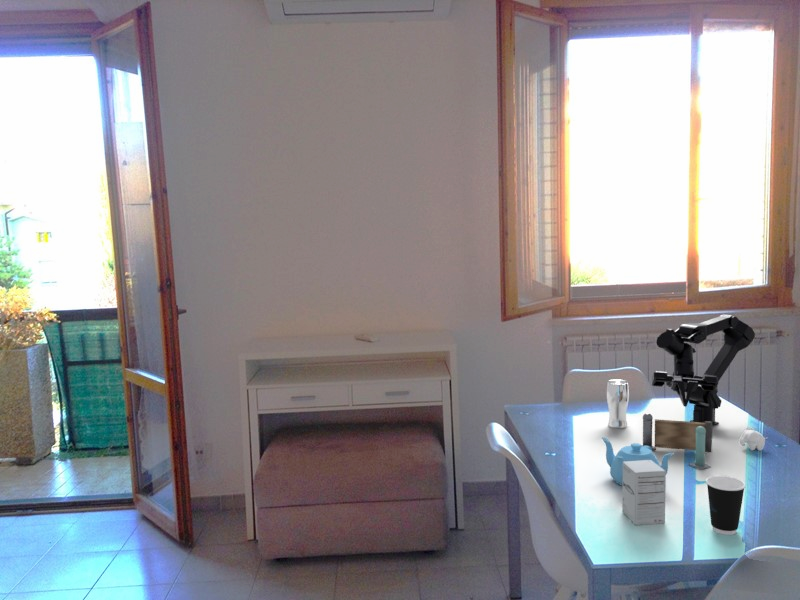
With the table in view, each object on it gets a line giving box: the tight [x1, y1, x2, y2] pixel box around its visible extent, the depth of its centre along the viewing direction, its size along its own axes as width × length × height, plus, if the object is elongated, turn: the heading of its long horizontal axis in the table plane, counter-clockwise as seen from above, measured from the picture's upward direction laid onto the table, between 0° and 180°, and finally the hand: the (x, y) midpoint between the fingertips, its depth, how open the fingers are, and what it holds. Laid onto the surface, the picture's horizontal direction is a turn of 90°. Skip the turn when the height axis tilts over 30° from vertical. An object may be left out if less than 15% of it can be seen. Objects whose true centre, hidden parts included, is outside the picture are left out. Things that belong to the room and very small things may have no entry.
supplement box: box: [621, 460, 667, 526], centre depth 158 cm, size 7×7×13 cm
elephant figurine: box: [738, 426, 769, 452], centre depth 202 cm, size 7×8×6 cm
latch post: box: [688, 426, 712, 471], centre depth 189 cm, size 4×4×11 cm
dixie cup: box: [705, 475, 746, 536], centre depth 151 cm, size 8×8×11 cm
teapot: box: [601, 437, 675, 487], centre depth 179 cm, size 15×15×10 cm
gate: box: [654, 418, 713, 454], centre depth 200 cm, size 16×2×9 cm, turn 69°
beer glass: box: [606, 379, 630, 430], centre depth 227 cm, size 7×7×15 cm
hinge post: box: [641, 412, 657, 452], centre depth 204 cm, size 5×5×11 cm
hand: (685, 405), depth 210 cm, fingers closed
